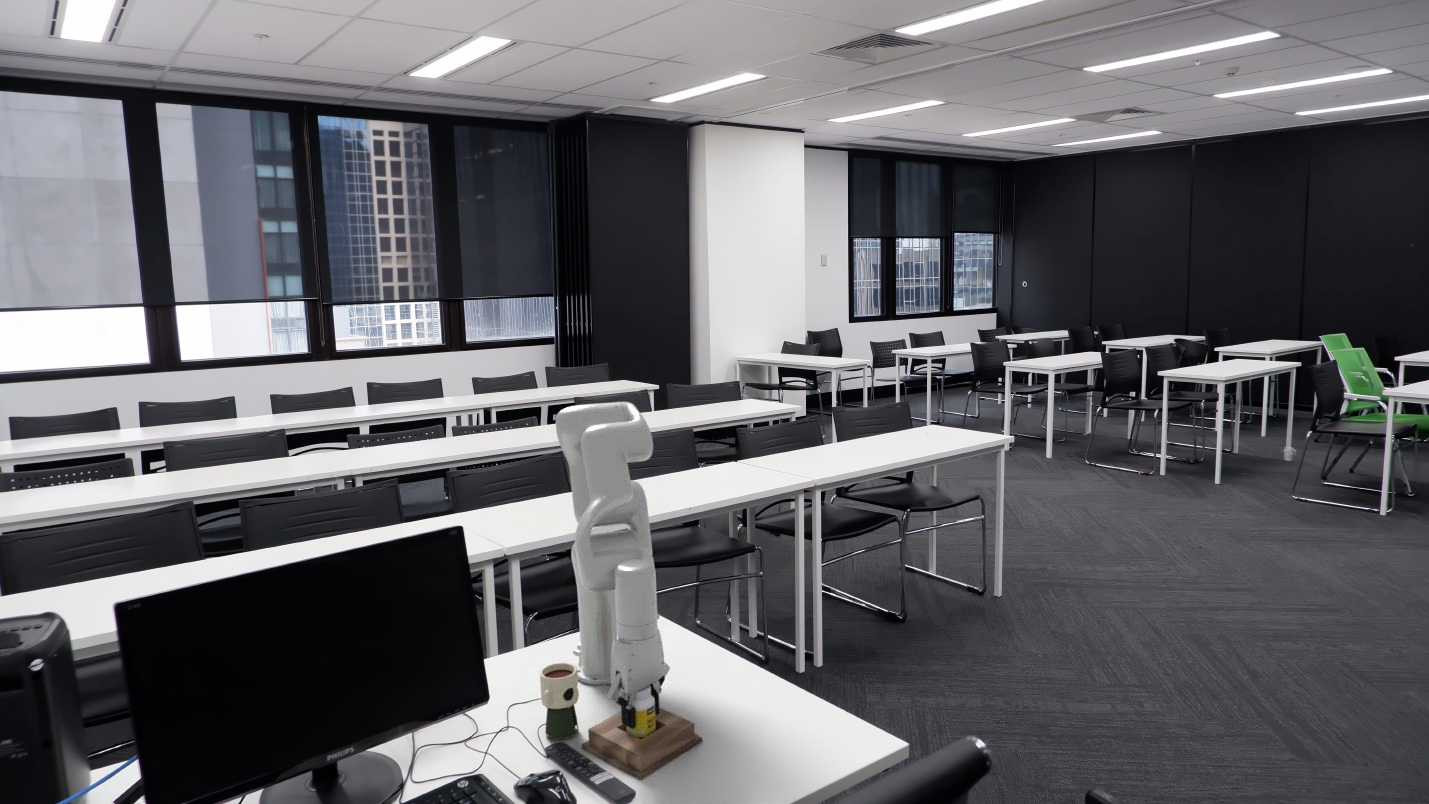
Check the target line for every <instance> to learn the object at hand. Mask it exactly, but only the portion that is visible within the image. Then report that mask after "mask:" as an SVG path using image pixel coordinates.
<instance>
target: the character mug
mask: <svg viewBox="0 0 1429 804" xmlns="http://www.w3.org/2000/svg"><path fill="white" fill-rule="evenodd" d="M576 666H577V665H574V664H573V663H570V662H555V663H551V664H548V665H545V666H544V667H542V668H541V669H540V671H539V683H540V697H541V702H542V706H544V707H545V708H546V709H547V710H546V718H545V719H546V720H545V734H546V735H547V736H548V737H550V738H554V739H558V740H564V739H570V738H572V737H574V736H575V735H576V731H577V732H578V731H579V725H578V718H577V713H576V707H575V705H576V704H577V703H578V701H579V696H580V692H579V689H578V682H579V680H578V674H577V668H576Z"/></svg>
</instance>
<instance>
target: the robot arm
mask: <svg viewBox="0 0 1429 804" xmlns="http://www.w3.org/2000/svg"><path fill="white" fill-rule="evenodd" d="M555 431H556V436H557V439H558V442H559V445H560V448H561V449H562V452H563V455H564V456H565V458H566V461H567V464H568V467H569V468H568V469H569V474H570V485H571V495H572V504H573V513H574V517H575V521H576V522H577V527H576V531H575V535H574V536H575V537H574V542H573V544H572V547H571V552H570V553H571V562H572V567H573V570H574V576H575V583H576V588H577V589H576V591H577V603H578V605H577V608H578V623H579V638H580V639H579V640H580V642H579V643H578V645H577V646H576V647H577V648H574V650H573V651H572V654H573V655H574V656H576V657H578V663H577V664H576V665H575V666H576V668H577V674H578V681H580V682H582V683H585V684H587V685H594V686H595V685H596V686H603V685H610V688H609V690H608V692H607V695H606V697H607V699H609V700H611V701H612V702H614V703H616V704H618V706H620V712H621V717H622V724H624V725H626V726H628V727H630V728H632V729H633V728H635V727H636V716H635V708H634V707H632V706H633V701H634V696H635V692H637V691H639V690H640V689H642V688H644V687H646V686H648V685H650V686H651V695H652V696H653V697H654V699H655V715H658V714H659V713H660V711H659V708H660V695H659V694H661V692H662V686H663V684H664V682H665V680H666V678H665V677H667V675H668V674H669V672H670V669H671V668H670V665H668V664H667V663H666V662H665V654H664V646H663V641H662V635H661V631H660V629H659V627H658V620H660V613H658V602H657V600H658V599H657V575H656V568H655V560H654V557H653V548H652V547H653V546H652V538H651V528H650V520H649V519H650V518H649V510H648V509H649V508H648V501H647V497H646V493H645V489H644V488H643V487H642V485H641V484H640V482H638V481H635V480H631V477H630V476H631V475H630V470H629V466H628V463H637V462H645V461H647V460H649V459H650V458H651V457H652V455H653V451H654V442H653V441H654V440H653V436H652V433H651V429H650V427H649V425H648V423H647V421H646V420H645V418H644V416H643V415H642V413H641V412H640V411H639V409H638V408H637V406H636V405H635V404H634V403H632V402H629V401H615V402H613V401H612V402H602V403H601V402H600V403H587V404H577V405H571V406H567V407H565V408H563V409H560V411H558V413H557V415H556V419H555ZM619 525H625V526H626V527H627V529H626V530H619V531H618V530H617V531H610V532H608V531H607V532H599V533H593V534H591V533H592V529H594V528H604V527H611V526H619ZM626 696H627V697H626ZM626 698H627V699H626Z"/></svg>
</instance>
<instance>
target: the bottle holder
mask: <svg viewBox="0 0 1429 804" xmlns="http://www.w3.org/2000/svg"><path fill="white" fill-rule="evenodd" d="M659 711H660V713H659V714H658V715H655V725H656V731H655V732H653V733H651V734H650V735H648V736H646V737H644V738H643V739H639V738H637V737H635V736H632V735H630V734H628V733H627V726H626V725H624V724H622V717H621V711H619V712H617V713H616V714H614V715H612V716H610V717H607V718H606V719H604V720H603V721H601V722H598V723H597V724H595V725H593V726H591V727H589V728H588V729H587V731H588V740H586V741H585V742H582V744H581V749H582V750H584V751H585V752H588V753H589V754H592V755H593V756H595V757H596V758H599V760H602V761H604V762H605V763H607V764H610V765H612V766H614V767H615V768H617V769H619V770H620V771H623V772H625V773H626V774H628V775H630V776H632V777H634V778H635V779H638V780H640V781H643V779H645V778H647V777H648V776H650V775H652V774H654V773H655V772H656V771H658V770H660V769H661V768H663V767H664V766H666V765H667V764H669V763H670V762H673V760H676V759H677V758H679V757H680V756H682V755H683V754H685V753H686V752H689V750H691V749H692V748H695V747H697V745H699V744H701V743H702V742H703V737H702V736H699V735H697V734H695V733H696V732H695V722H692V721H691V720H688V719H686V718H684V717H681V716H679V715H677V714H675V713H673V712H671V711H669V710H666V709H663V708H661V707H659Z"/></svg>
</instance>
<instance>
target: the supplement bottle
mask: <svg viewBox="0 0 1429 804" xmlns="http://www.w3.org/2000/svg"><path fill="white" fill-rule="evenodd" d="M632 707H634V708H635V716H636V727H635V728H633V729H632V728H630V727H628V726H627V733H628V734H630V735H632V736H635V737H637V738H639V739H643V738H644V737H646V736H648V735H650V734H651V733H653V732H655V731H656V725H655V699H654V697H653V696H652V695H651V686H650V685H648V686H646V687H644V688H642V689H640V690H639V691H637V692H635V696H634V701H633V706H632Z"/></svg>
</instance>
